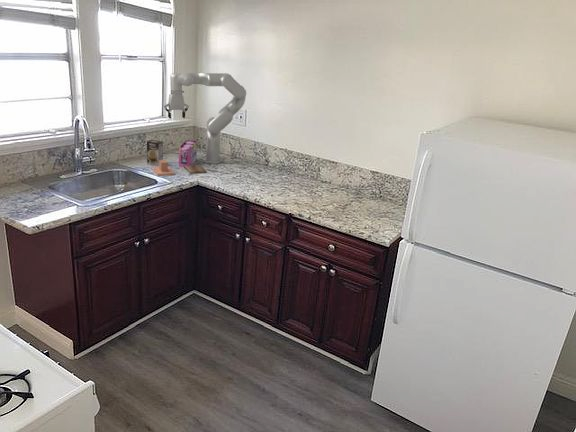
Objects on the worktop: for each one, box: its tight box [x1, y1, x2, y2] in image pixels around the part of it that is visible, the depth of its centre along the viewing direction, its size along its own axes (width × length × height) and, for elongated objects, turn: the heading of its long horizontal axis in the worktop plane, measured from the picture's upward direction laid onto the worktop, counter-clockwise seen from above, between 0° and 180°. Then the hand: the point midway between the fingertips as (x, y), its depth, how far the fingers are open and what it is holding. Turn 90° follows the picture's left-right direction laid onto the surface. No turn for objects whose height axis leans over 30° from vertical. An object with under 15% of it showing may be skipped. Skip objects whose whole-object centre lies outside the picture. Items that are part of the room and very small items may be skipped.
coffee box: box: [146, 139, 164, 167], centre depth 314 cm, size 9×6×16 cm
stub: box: [151, 159, 176, 177], centre depth 301 cm, size 11×14×7 cm
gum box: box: [178, 139, 198, 168], centre depth 324 cm, size 24×8×14 cm, turn 179°
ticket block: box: [183, 164, 207, 175], centre depth 312 cm, size 11×14×2 cm
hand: (176, 118), depth 320 cm, fingers open, 9 cm apart
